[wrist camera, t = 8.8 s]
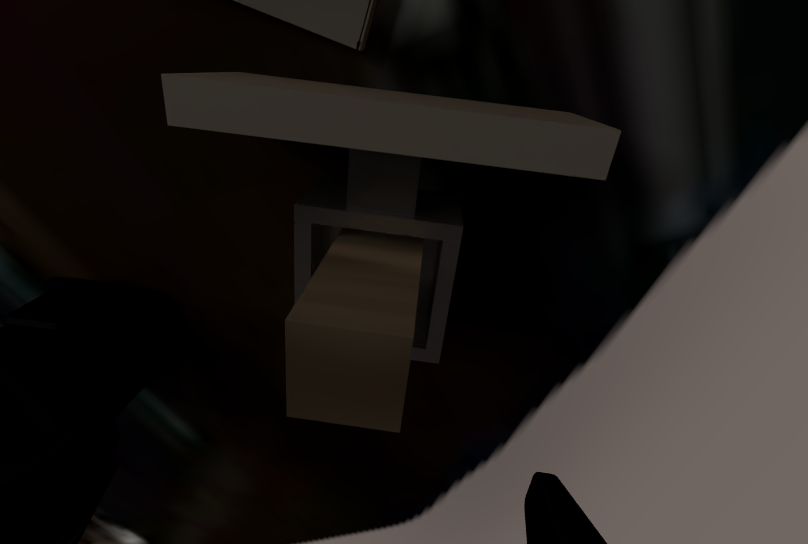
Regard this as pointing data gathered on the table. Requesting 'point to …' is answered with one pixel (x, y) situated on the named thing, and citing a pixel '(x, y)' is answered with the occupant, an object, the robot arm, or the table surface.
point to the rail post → (355, 332)
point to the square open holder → (386, 230)
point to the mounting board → (391, 122)
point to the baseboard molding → (324, 17)
